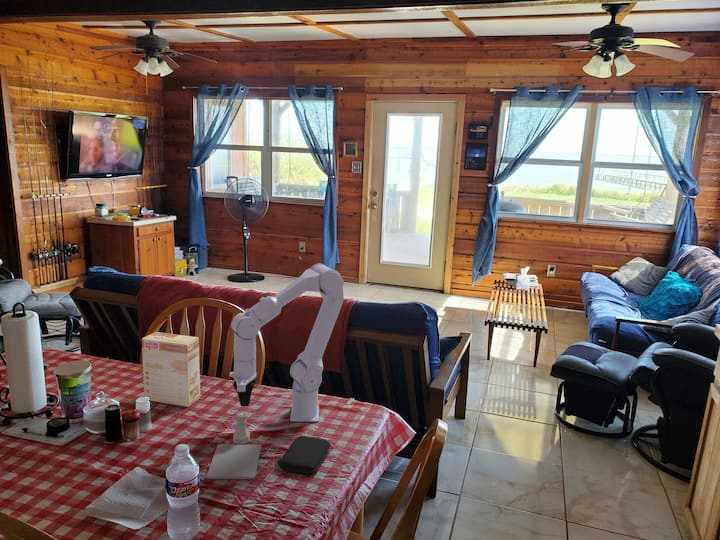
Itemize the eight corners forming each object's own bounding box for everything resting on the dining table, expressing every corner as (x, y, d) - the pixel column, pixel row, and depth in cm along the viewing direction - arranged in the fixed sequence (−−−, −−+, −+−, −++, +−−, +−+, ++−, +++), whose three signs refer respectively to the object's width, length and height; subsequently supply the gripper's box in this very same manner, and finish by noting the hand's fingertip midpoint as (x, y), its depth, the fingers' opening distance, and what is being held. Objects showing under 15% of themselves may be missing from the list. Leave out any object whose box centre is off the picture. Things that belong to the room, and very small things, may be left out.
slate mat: (217, 446, 139) (217, 444, 139) (261, 446, 140) (261, 444, 139) (206, 479, 125) (206, 476, 125) (254, 479, 126) (254, 476, 126)
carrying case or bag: (293, 441, 143) (271, 472, 129) (293, 431, 143) (271, 461, 129) (332, 448, 141) (314, 480, 127) (332, 437, 140) (314, 469, 126)
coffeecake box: (201, 397, 165) (199, 336, 161) (188, 407, 159) (186, 344, 154) (157, 390, 169) (155, 330, 165) (143, 400, 162) (140, 338, 158)
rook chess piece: (246, 446, 140) (245, 417, 138) (229, 443, 140) (229, 415, 139) (252, 437, 144) (252, 409, 142) (237, 435, 145) (236, 407, 143)
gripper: (234, 348, 151) (234, 393, 154) (224, 368, 137) (225, 417, 140) (259, 348, 152) (259, 393, 155) (253, 368, 138) (252, 418, 141)
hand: (244, 405), depth 147 cm, fingers closed
